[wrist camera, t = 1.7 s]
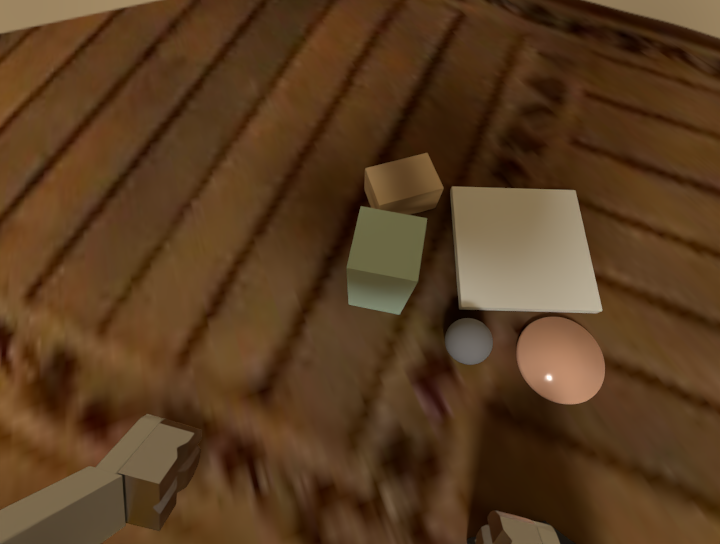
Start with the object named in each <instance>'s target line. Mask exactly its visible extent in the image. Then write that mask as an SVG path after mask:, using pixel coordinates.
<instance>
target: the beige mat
mask: <svg viewBox="0 0 720 544" xmlns="http://www.w3.org/2000/svg"><path fill="white" fill-rule="evenodd" d="M450 199H451V212H452V225H453V238H454V251H455V264H456V277H457V290H458V303H459V309H464V310H500V311H536V312H571V313H598V312H601V311H602V306H601V302H600V297H599V293H598V288H597V284H596V280H595V275H594V271H593V266H592V262H591V257H590V253H589V248H588V244H587V239H586V235H585V231H584V226H583V222H582V217H581V213H580V208H579V204H578V199H577V195H576V191H575V190H554V189H521V188H488V187H455V186H452V188H451V190H450Z"/></svg>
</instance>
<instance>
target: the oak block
mask: <svg viewBox="0 0 720 544" xmlns="http://www.w3.org/2000/svg"><path fill="white" fill-rule="evenodd" d="M443 189H444V187H443V185H442V183H441V181H440V179H439V177H438V174H437V172H436V170H435V168H434V166H433V164H432V161H431V159H430V157H429V155H428V153H424V154H420V155H416V156H412V157H408V158H404V159H400V160H396V161H392V162H388V163H384V164H380V165H376V166H372V167H368V168H365V184H364V190H365V193H366V195H367V198H368V201H369V204H370V206H371V208H374V209H379V210H385V211H390V212H395V213H401V214H406V215H411V214H415V213H419V212H422V211H426V210H430V209H433V208H436V206H437V203H438V201H439V198H440V196H441V194H442V191H443Z"/></svg>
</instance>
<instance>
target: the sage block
mask: <svg viewBox="0 0 720 544" xmlns="http://www.w3.org/2000/svg"><path fill="white" fill-rule="evenodd" d="M426 224H427V218H423V217H417V216H412V215H406V214H401V213H395V212H390V211H385V210H379V209H374V208H368V207H363V206H361V207H360V211H359V216H358V220H357V224H356V229H355V233H354V237H353V242H352V246H351V250H350V255H349V259H348V263H347V285H348V302H349V305H354V306H359V307H364V308H369V309H374V310H379V311H384V312H389V313H394V314H399V315H400V313H401V311H402V309H403V308H404V306H405V304H406V302H407V300H408V299H409V297H410V295H411V293H412V291H413V289H414V288H415V286H416V284H417V282H418V277H419V271H420V264H421V257H422V251H423V244H424V237H425V231H426Z"/></svg>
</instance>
